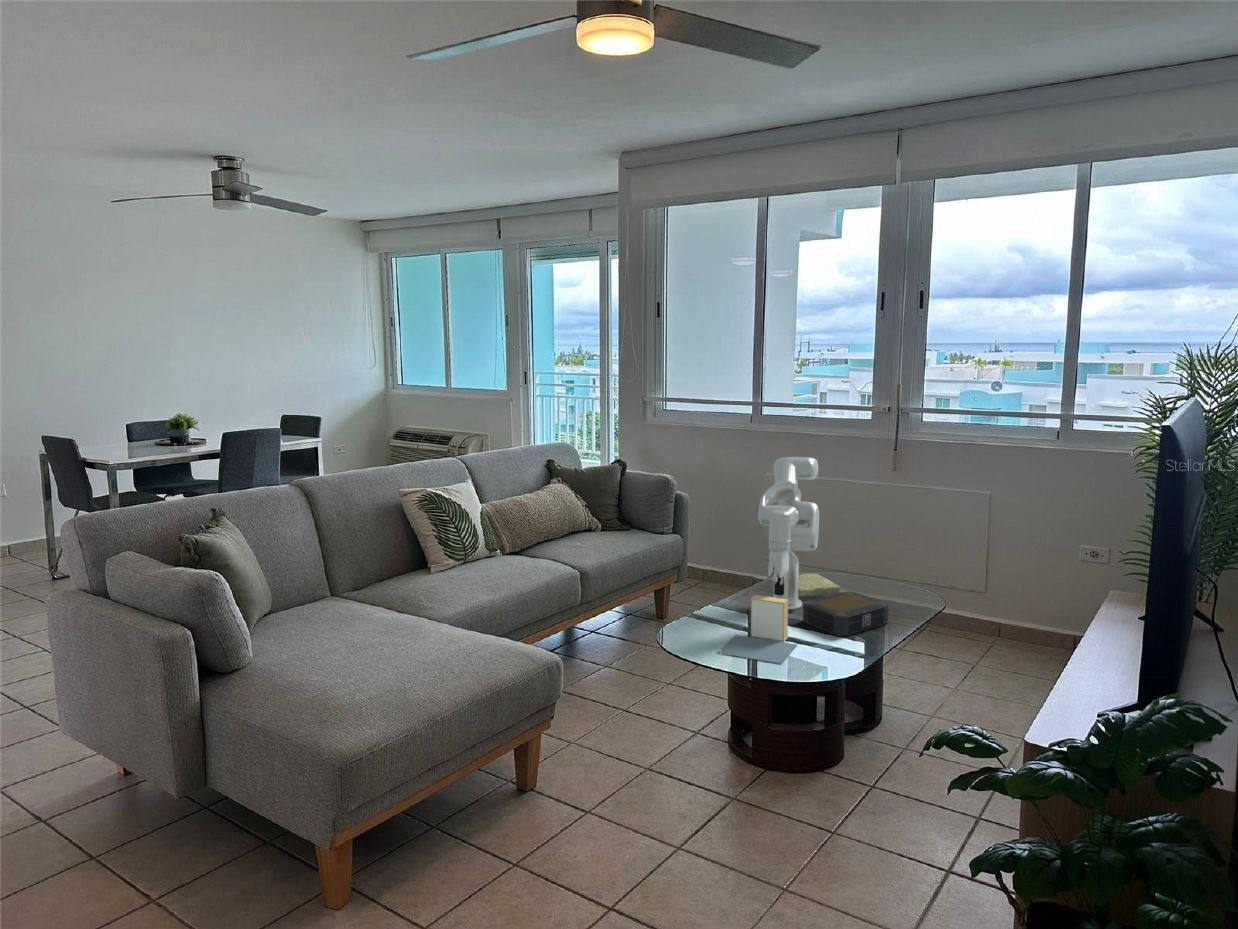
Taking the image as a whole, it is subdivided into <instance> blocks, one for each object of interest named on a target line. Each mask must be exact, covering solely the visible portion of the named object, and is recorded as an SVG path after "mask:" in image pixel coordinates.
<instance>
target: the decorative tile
mask: <svg viewBox="0 0 1238 929" xmlns="http://www.w3.org/2000/svg"><path fill="white" fill-rule="evenodd" d="M831 592H840V593H841V586H839V585H838V584H837V583H834V582H833V581H831V580H829V579H828V578H826V577H824V576H821V575H820V574H818V573H802V574H799V585H798V597H800V596H804V597H811V596H819V595H818V594H822V595H826V594H825V593H831ZM831 594H832V593H831Z"/></svg>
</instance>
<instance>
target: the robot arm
mask: <svg viewBox="0 0 1238 929" xmlns="http://www.w3.org/2000/svg"><path fill="white" fill-rule="evenodd" d="M773 475H774V479H775V480H774V485H772V486H771V487H769V488H767V490H766V491H765V492H764V493H763V494H762V495H761V497H760V501H759V505H758V514H757V517H758V521H759V524H760V525H762V526H767V527H768V549H769V558H768V571H767V572H768V575H767V576H768V577H769V578H771V577H773V580H772V582H773V598H781V599H788V610H798V609H800V608H801V607H803V601H802V600H801V599H799V596H798V585H799V575H800V574H799V569H800V568H799V567H800V566H799V565H800V563H799V558H798V556H797V555H796V554H795V552H794V551H798V552H799V551H800V552H813V551H816V549H817V548H818V544H819V532H820V508H819V506H818V504H817V503H815V502H812V501H802V499H801V498H802V492H801V490H800V488H799V487H798V486H799V484H798V483H799V480H811V481H813V480H815V479H817V477H818V475H819V463H818V460H817V459H816V458H814V457H810V456H809V457H808V456H807V457H806V456H786V457H780V458H778V459H776V460H775V461H774V463H773ZM777 502H778V503H777ZM774 503H777V504H775V505H774ZM772 504H773V505H772Z"/></svg>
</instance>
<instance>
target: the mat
mask: <svg viewBox="0 0 1238 929" xmlns="http://www.w3.org/2000/svg"><path fill="white" fill-rule="evenodd" d="M797 646H798V644H797V643H791V642H786V641H784V642H782V641H775V640H769V639H763V638H756V637H751V636H747V635H746V636H745V635H740V634H735V635H733V637H731V638H730V639H729V641H727V642H726V643H725V644H724V645H723V646H722V647H721V648H719V650H721V651H719V650H717V652H716V654H717V653H722V654H721V655H723V654H730V655H733V656H732V657H735V656H738V657H737V658H740V657H744V658H743V659H746V658H747V659H748V660H751V661H759V662H765V663H771V664H776V665H782V664H783V663H784V662H785V661H786V660H787V658H788V657H789V656H790V655H791V653H792V652H793V651H794V650H795V649H796V648H797Z"/></svg>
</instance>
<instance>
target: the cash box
mask: <svg viewBox="0 0 1238 929" xmlns="http://www.w3.org/2000/svg"><path fill="white" fill-rule="evenodd" d="M889 609H890V605H889V603H887V602H885V601H882V600H879V599H876V598H873V597H870V596H866V595H863V594H860V593H857V592H855V591H851V590H848V591H844V592H840V593H834V594H831V595H827V596H824V597H819V598H816V599H812V600H808V601H805V602H802V621H803V623H806V624H807V625H810V626H813V627H815V628H817V629H820V630H822V631H824V632H825V631H826V632H828V633H830V634H832V635H835V636H838V637H846V636H849V635H852V634H856V633H860V632H863V631H866V630H870V629H874V628H877V627H881V626H884V625H887V624H888V623H889V615H890V614H889V611H890V610H889ZM886 623H887V624H886ZM883 624H884V625H883ZM876 626H877V627H876Z"/></svg>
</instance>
